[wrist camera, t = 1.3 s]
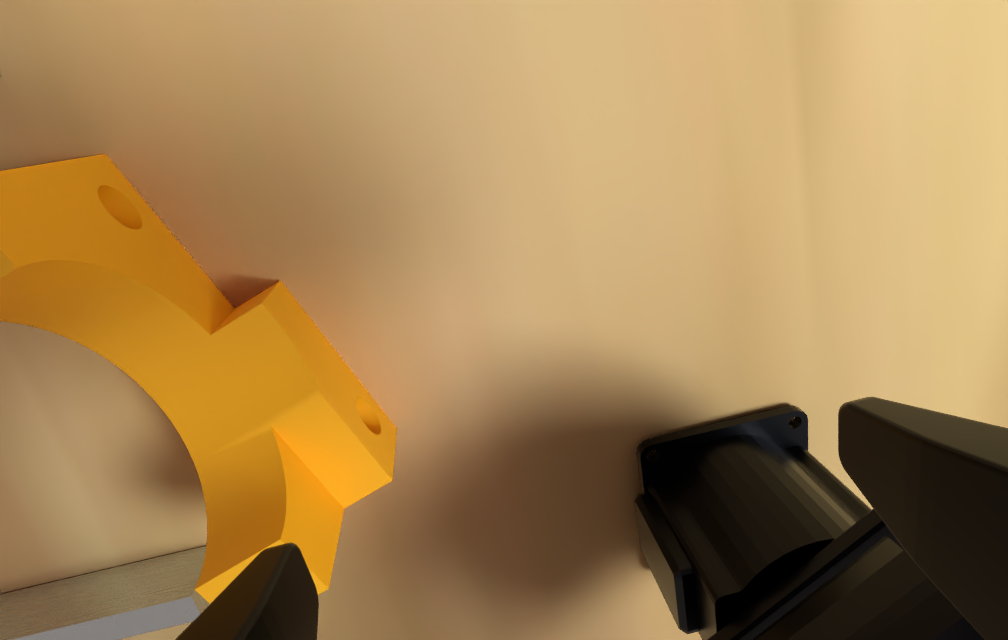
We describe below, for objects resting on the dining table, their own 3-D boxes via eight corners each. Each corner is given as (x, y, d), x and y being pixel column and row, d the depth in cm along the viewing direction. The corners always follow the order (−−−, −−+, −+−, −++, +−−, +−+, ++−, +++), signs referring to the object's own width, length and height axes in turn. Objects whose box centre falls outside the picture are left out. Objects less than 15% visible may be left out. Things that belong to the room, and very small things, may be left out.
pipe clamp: (397, 426, 21) (386, 555, 15) (295, 486, 22) (245, 636, 15) (157, 120, 17) (9, 130, 11) (35, 201, 17) (-174, 254, 11)
